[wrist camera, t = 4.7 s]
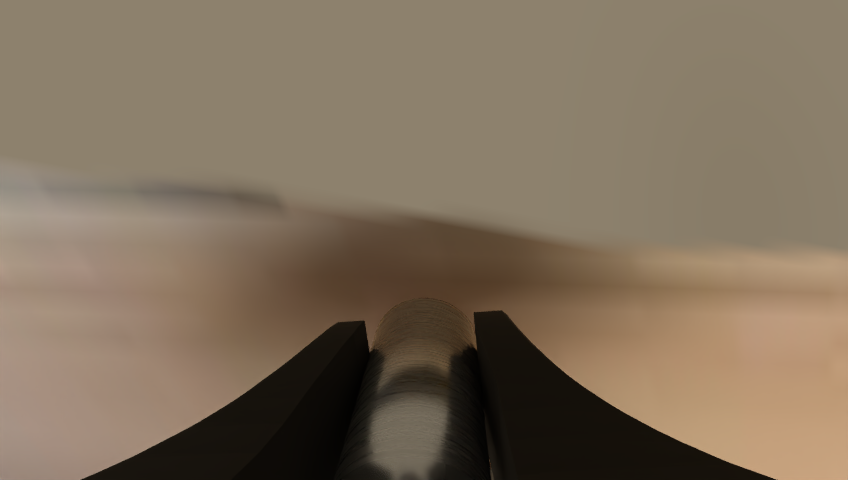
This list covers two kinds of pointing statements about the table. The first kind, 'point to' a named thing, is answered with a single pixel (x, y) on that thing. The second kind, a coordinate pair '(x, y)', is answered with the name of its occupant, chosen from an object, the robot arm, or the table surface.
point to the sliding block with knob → (419, 400)
